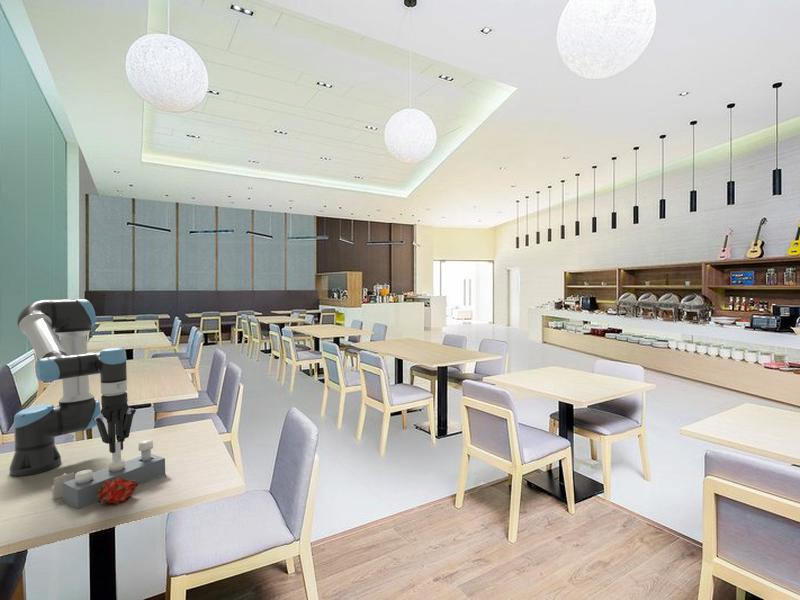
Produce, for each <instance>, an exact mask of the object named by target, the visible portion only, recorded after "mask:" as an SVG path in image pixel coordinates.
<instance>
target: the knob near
mask: <svg viewBox="0 0 800 600" xmlns="http://www.w3.org/2000/svg"><path fill="white" fill-rule="evenodd" d="M93 472H94V471H93V469H84V470H81V471H76V473H74V479H75V483H79V485H82V484H85V483H88V482H90V480H92V479H93Z"/></svg>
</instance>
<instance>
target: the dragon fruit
mask: <svg viewBox="0 0 800 600" xmlns="http://www.w3.org/2000/svg"><path fill="white" fill-rule="evenodd" d="M105 482H106V484H103V485H101V487H100V488H99V489H98V490H97V493H98V494H97V495H96V496H97V497H98V498H100V499H101V500H99V501H98V504H107V505H112V504H114V505H119V503H120V502H123V501H126V502H127V501H128V500H130V499H131V498H132V494H133V493H134V492H135V490H136V489H137V488H138V486H139V485H138V483H137V482H136V481H135V480H125V478H124V477H121V478H120V479H117V478H115V479H113V480H111V481H105ZM136 483H137V484H136Z"/></svg>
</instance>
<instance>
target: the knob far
mask: <svg viewBox="0 0 800 600" xmlns="http://www.w3.org/2000/svg"><path fill="white" fill-rule="evenodd" d="M137 445H138V451H139V452H140V453H141V454H140V456H141V460H142V462H146V461H149V460H151V454H152V449H153V448H154V439H144V440H140V441H139V442H138V444H137Z"/></svg>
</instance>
